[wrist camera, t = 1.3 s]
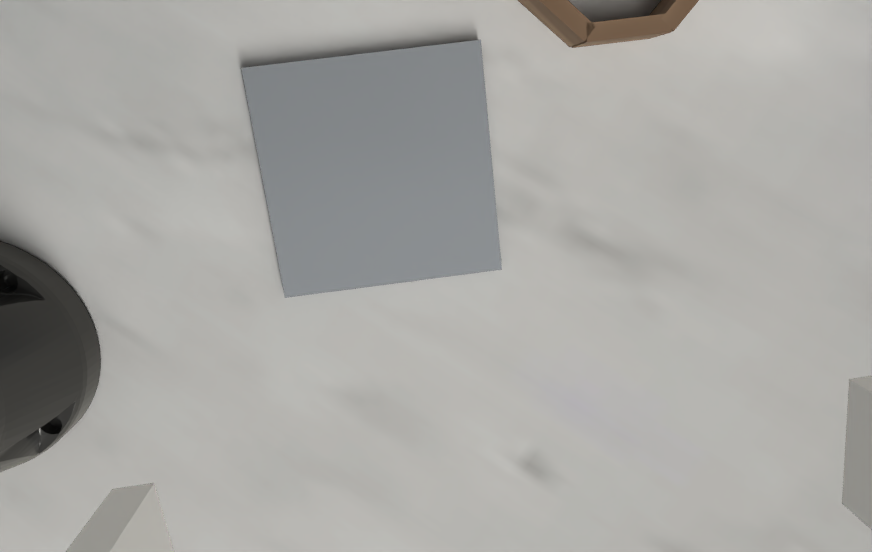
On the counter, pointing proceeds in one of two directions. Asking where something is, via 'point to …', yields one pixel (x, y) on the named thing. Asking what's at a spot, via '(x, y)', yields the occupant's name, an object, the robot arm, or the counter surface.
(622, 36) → the cup cradle
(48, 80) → the counter surface
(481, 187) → the rubber mat
